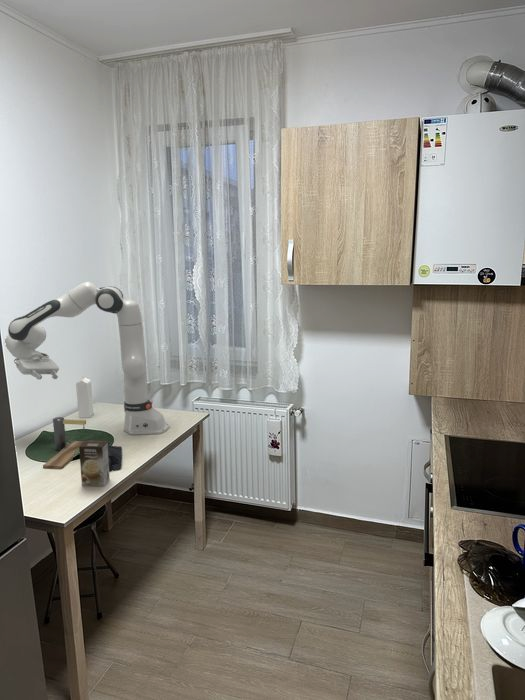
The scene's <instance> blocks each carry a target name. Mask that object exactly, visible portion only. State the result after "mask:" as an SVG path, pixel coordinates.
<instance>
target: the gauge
mask: <svg viewBox="0 0 525 700" xmlns="http://www.w3.org/2000/svg"><path fill="white" fill-rule="evenodd" d="M52 424H53V425H52V426H53V435H54V437H53V438H54V446H55V450H56V449H63V448H65V447H66V446H67V439H66V425H79V426H80V425H81V426H82V430H85V426H86V424H87V420H86V419H67V418H65V417H63V416H59V417H54V418H53V419H52Z"/></svg>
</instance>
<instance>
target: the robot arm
mask: <svg viewBox="0 0 525 700" xmlns="http://www.w3.org/2000/svg"><path fill="white" fill-rule="evenodd" d="M94 305H96V306H97V308H98V309H100V311H103V312H105V313H112V314H116V316H117V317H116V318H117V322H118V332H119V343H120V344H119V345H120V357H121V369H122V371H123V390H124V391H123V392H124V393H123V394H124V402H123V409H124V424H123V428H122V429H123V431H124V432H127V433H128V434H129V435H131V436H132V435H133V436H135V435H139V436H140V435H160V434H163V433H165V432H166V431H168V430H169V428H170V423H169V422H167V421H166V420H165V417H164V414H162V413H161V412H160V411H158V410H157V409H156V408H154V407H153V400H151V401H150V400H149V395H148V378H147V377H148V375H147V373H148V371H147V358H146V349H145V336H144V328H143V319H142V313H141V309H140V307H139V304H138V302H137V301H134V300H132V299H124V294H123V292H122V291H121V290H120V288H119V287H116V286H104V287H99V288H98V286H97V285H95V284H94V283H93V282H91V281H84V282H82V283H79V285H76V286H74V287H73V288H72V289H70V290H68V291H67V292H66V293H65V294H63V295H61V296H59V297H58V298H55V299H51V300H49V301H47V302H45V303H43V304H42V305H40V306H38V307H37V308H35V309H33V310H32V311H30V312H29V313H26V314H25V315H23V316H22V315H21V316H20V317H15V318H14V319H13V320H11V321H10V323H9V325H8V329H7V333H8V335H6V337H7V338H6V337H5V339H4V344H5V343H6V345H5V348H6V349H7V351H8V352H9V353H10V354H11V355H12V356H13V357H14V359H13V363H14V364H15V366H16V368H17V370H18V371H19V372H20V373H21V374H23V376H24V375H25V376H26V375H27V376H28V375H30V376H31V377H34V378H36V379H37V380H42V378H43V375H51V378H52V379H53V380H57V379H58V378H59V376H58V374H57V373H58V372H59V370H60V367H59V366H58V365H57V363H56V362H55V361H54V360H53V359H52V358H50V355H49V354H47V353H43V352H40V351H38V350H36V349H37V348H39V347H40V346H41V345H42V344H44V343H45V340H46V338H47V332H46V329H45V328H44V327H42V326H40V325H39V324H40V323H42V322H44V321H45V320H47V319H50V318H54V317H55V318H56V317H61V318H62V317H63V318H74V317H77V316H79V315H81V314H82V313H83V312H84V311H86V310H87V309H89V308H90V307H92V306H94Z"/></svg>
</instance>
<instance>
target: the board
mask: <svg viewBox="0 0 525 700" xmlns="http://www.w3.org/2000/svg"><path fill="white" fill-rule="evenodd" d="M84 441H85V440H84ZM84 441H83V440H82V441H81V440H79V441H78V440H77V441H76V440H72V441H71V442H69V444H66V447H65V448H64V449H63V450H60V451H59V452H58V453H56V454H55V455H54V456H52V457H51V458H50V459H49V460H48V461H46V462H45V463H44V464H42V468H43V469H54V470H55V469H56V470H57V469H58V470H62V469H64V468H65V467H66V466H67V465H68V464H70V462H71V461H72V460H73V456H74V452H75V450H76V451H77V449H79V446H80V445H81V444H82V443H83V442H84Z"/></svg>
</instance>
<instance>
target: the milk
mask: <svg viewBox="0 0 525 700" xmlns="http://www.w3.org/2000/svg"><path fill="white" fill-rule="evenodd" d="M75 388H76V398H77V399H76V400H77V411H78V413H77V414H78V418H79V419H81V418H84V419H85V418H87V419H89V418H91V417H92V416H93V415H94V406H93V405H94V403H93V402H94V401H93V390H92V380H91V379H89V378H87V377H86V374H84V375H83V376H81V378H80V380H78V382H76V383H75Z"/></svg>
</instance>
